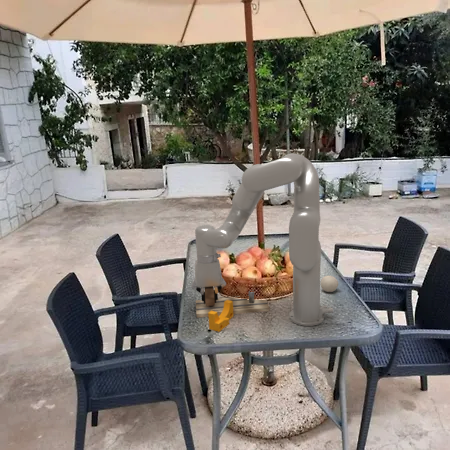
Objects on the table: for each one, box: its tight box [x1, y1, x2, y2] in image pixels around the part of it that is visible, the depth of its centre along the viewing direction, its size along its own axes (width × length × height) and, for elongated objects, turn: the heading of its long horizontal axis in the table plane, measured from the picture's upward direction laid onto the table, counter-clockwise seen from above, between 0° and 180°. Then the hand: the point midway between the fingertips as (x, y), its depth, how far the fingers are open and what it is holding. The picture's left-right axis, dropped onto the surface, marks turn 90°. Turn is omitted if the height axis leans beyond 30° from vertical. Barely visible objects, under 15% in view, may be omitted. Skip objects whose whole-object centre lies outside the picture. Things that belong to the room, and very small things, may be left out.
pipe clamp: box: [207, 300, 235, 333], centre depth 149 cm, size 12×4×6 cm, turn 146°
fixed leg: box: [248, 290, 255, 303], centre depth 162 cm, size 2×2×4 cm
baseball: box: [320, 275, 339, 293], centre depth 171 cm, size 7×7×7 cm
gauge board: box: [195, 296, 271, 319], centre depth 162 cm, size 28×12×2 cm, turn 95°
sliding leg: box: [204, 286, 215, 306], centre depth 160 cm, size 4×4×8 cm
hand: (209, 301), depth 160 cm, fingers closed on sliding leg, 3 cm apart
